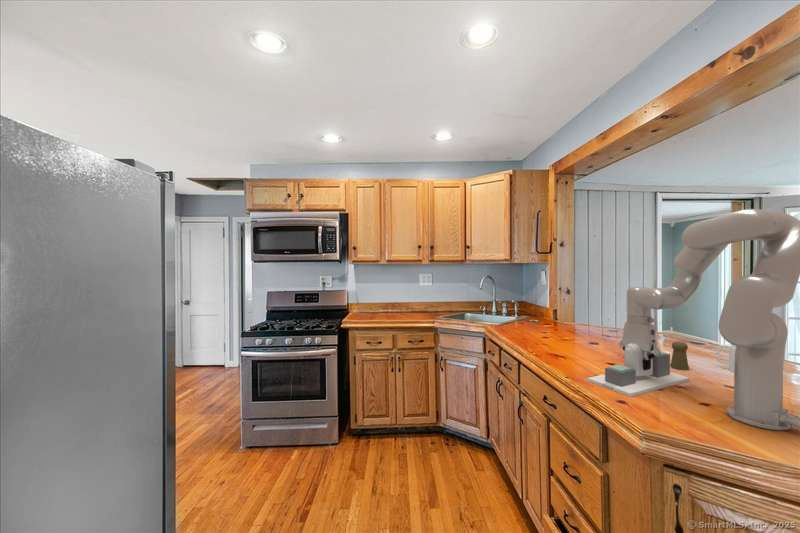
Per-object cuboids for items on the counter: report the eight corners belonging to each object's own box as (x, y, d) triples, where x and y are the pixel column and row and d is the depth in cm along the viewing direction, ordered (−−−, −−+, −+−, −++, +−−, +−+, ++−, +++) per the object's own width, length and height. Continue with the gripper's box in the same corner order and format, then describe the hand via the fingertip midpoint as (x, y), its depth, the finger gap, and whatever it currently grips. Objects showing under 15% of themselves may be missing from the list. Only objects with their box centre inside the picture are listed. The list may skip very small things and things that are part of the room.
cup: (716, 365, 143) (716, 342, 142) (757, 372, 134) (758, 347, 134) (715, 370, 137) (716, 346, 137) (758, 377, 128) (758, 351, 128)
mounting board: (689, 380, 126) (689, 355, 125) (630, 397, 112) (630, 368, 111) (644, 368, 140) (644, 345, 140) (587, 381, 126) (587, 356, 126)
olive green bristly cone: (687, 367, 141) (687, 341, 141) (690, 371, 136) (690, 344, 136) (669, 364, 144) (669, 339, 144) (671, 368, 139) (671, 342, 139)
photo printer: (644, 371, 129) (644, 340, 129) (654, 375, 125) (655, 342, 124) (622, 373, 127) (622, 341, 126) (632, 377, 122) (632, 344, 122)
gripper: (670, 322, 119) (670, 372, 119) (622, 315, 135) (622, 360, 135) (657, 324, 116) (657, 376, 116) (610, 317, 132) (610, 362, 132)
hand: (638, 366), depth 126 cm, fingers closed on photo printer, 4 cm apart
